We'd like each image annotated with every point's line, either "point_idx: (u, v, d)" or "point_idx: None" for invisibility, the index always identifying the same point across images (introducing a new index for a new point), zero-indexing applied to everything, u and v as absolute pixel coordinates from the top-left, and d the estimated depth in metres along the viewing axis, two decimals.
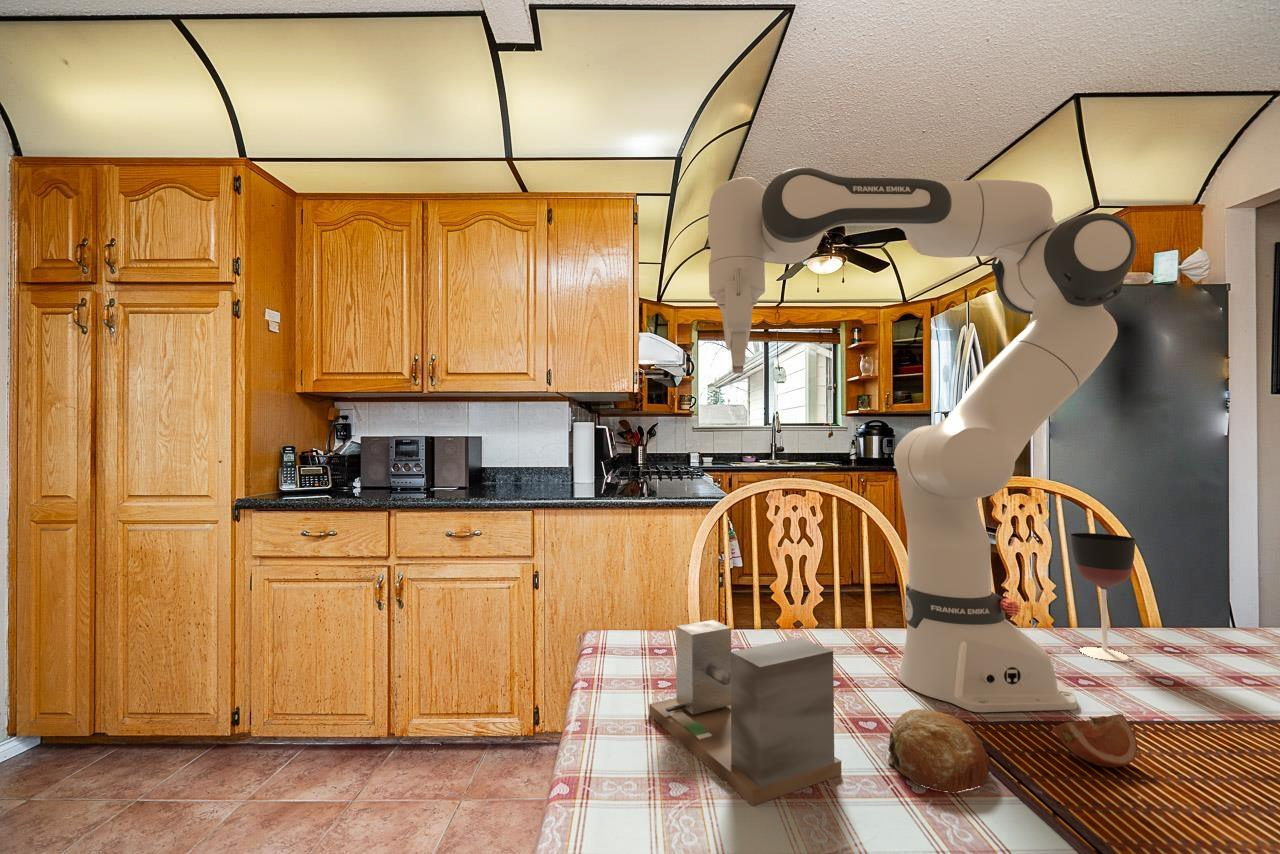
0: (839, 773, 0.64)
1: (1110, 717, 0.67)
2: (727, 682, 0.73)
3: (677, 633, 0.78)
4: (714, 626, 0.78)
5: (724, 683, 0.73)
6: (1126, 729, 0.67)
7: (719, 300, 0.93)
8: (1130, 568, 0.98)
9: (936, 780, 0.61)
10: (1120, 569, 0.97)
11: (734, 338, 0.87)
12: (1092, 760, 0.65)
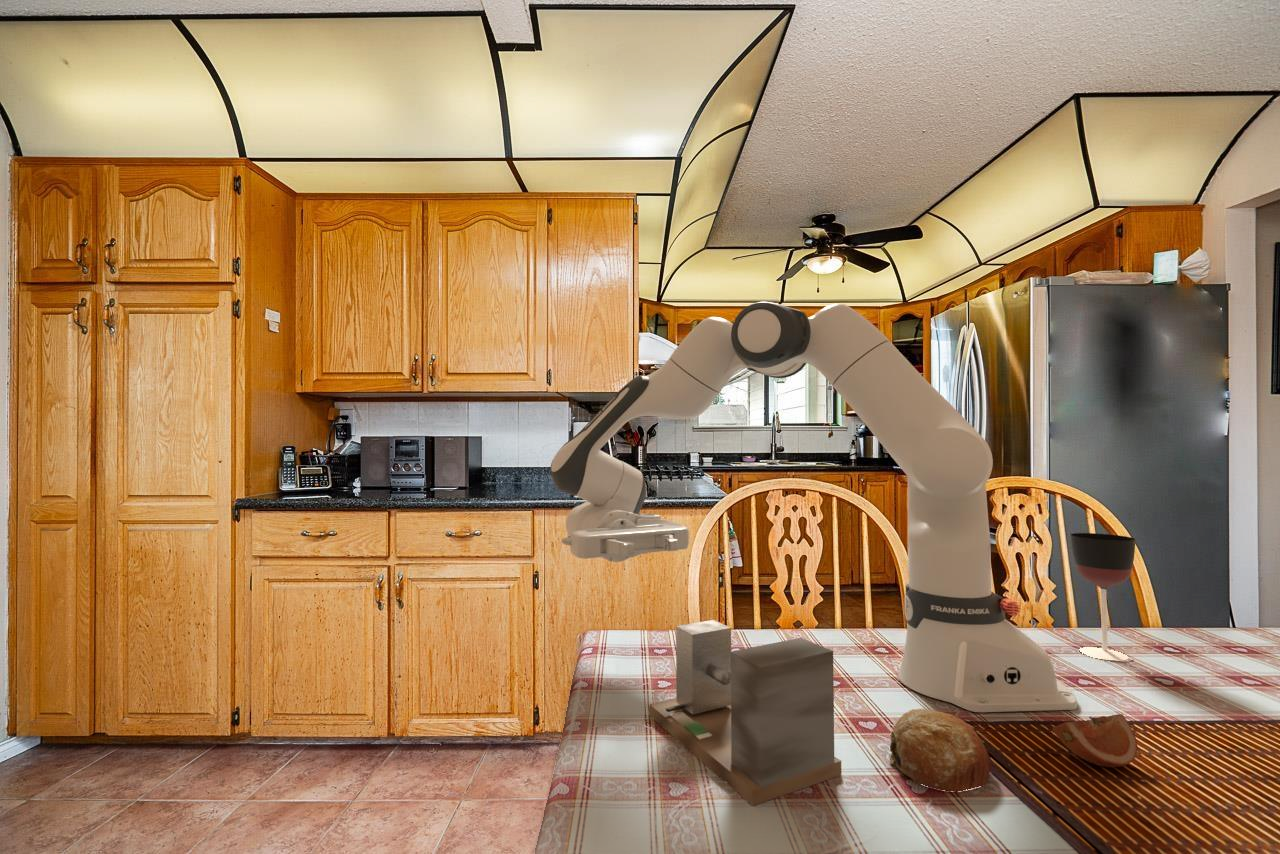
0: (839, 773, 0.64)
1: (1110, 717, 0.67)
2: (727, 682, 0.73)
3: (677, 633, 0.78)
4: (714, 626, 0.78)
5: (724, 683, 0.73)
6: (1126, 729, 0.67)
7: None
8: (1130, 568, 0.98)
9: (938, 780, 0.61)
10: (1120, 569, 0.97)
11: (608, 551, 0.91)
12: (1092, 760, 0.65)
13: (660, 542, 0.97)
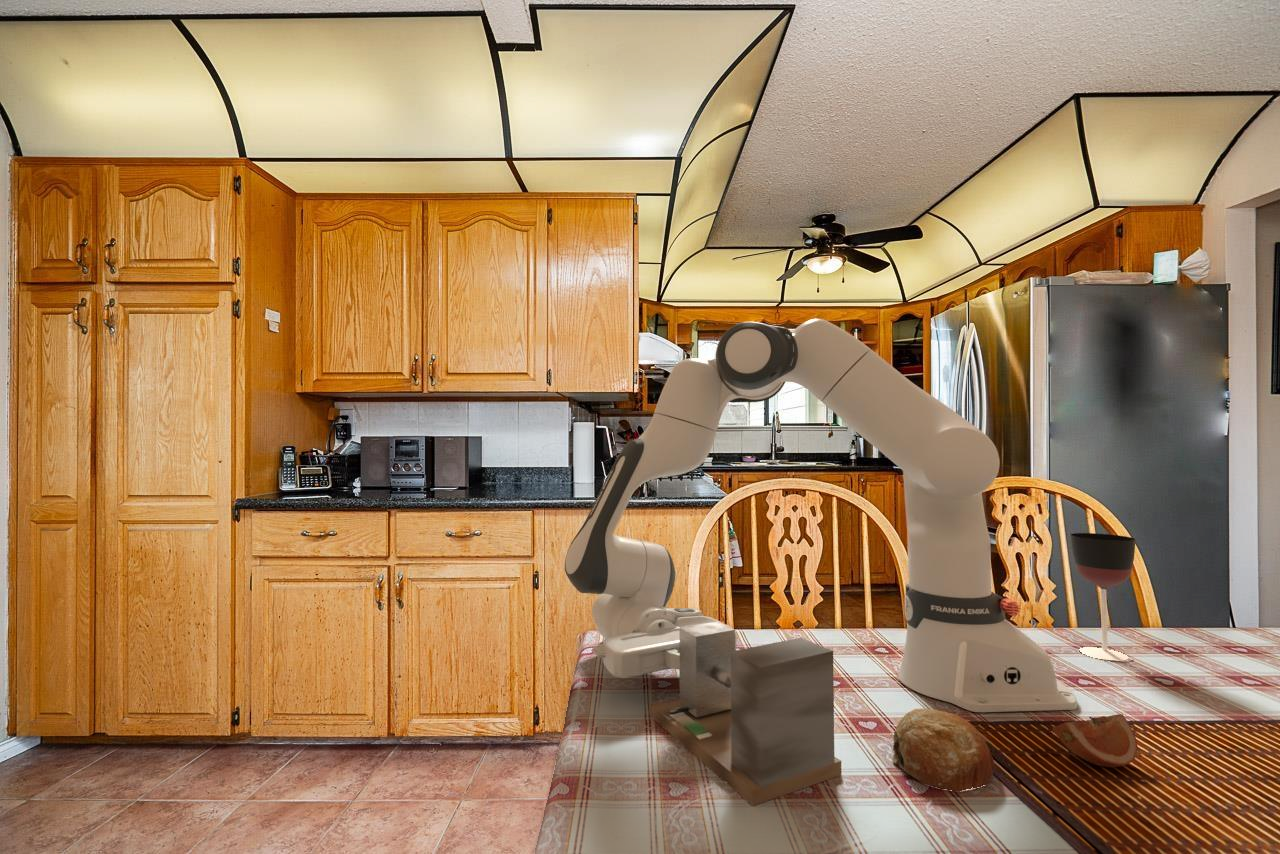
0: (839, 773, 0.64)
1: (1110, 717, 0.67)
2: None
3: (680, 635, 0.77)
4: (717, 628, 0.77)
5: (728, 686, 0.72)
6: (1126, 729, 0.67)
7: None
8: (1130, 568, 0.98)
9: (941, 779, 0.61)
10: (1120, 569, 0.97)
11: (669, 664, 0.81)
12: (1092, 760, 0.65)
13: None
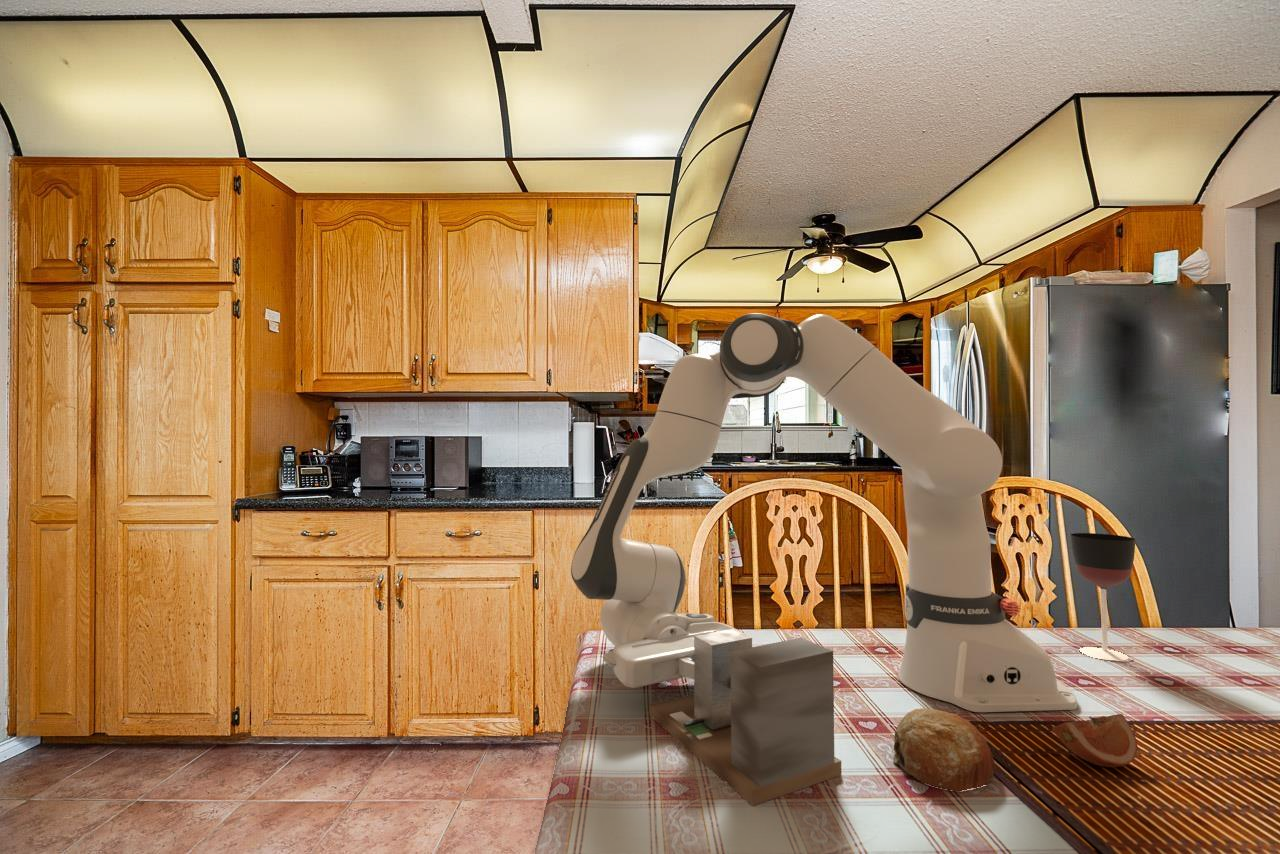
0: (839, 773, 0.64)
1: (1110, 717, 0.67)
2: None
3: (695, 643, 0.74)
4: (734, 636, 0.74)
5: None
6: (1126, 729, 0.67)
7: None
8: (1130, 568, 0.98)
9: (942, 779, 0.61)
10: (1120, 569, 0.97)
11: (682, 673, 0.78)
12: (1092, 760, 0.65)
13: None
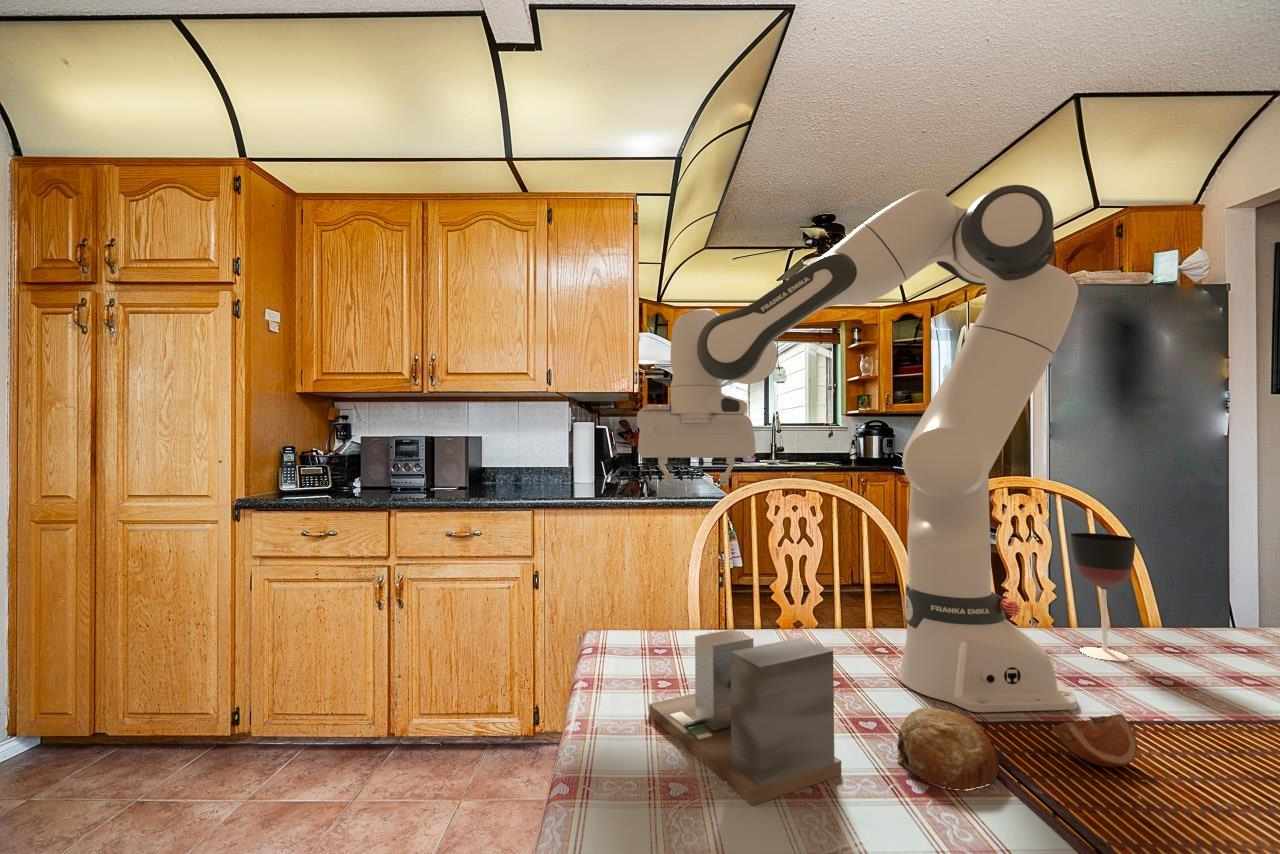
0: (839, 773, 0.64)
1: (1110, 717, 0.67)
2: None
3: (696, 644, 0.74)
4: (735, 636, 0.74)
5: None
6: (1126, 729, 0.67)
7: None
8: (1130, 568, 0.98)
9: (946, 778, 0.61)
10: (1120, 569, 0.97)
11: None
12: (1092, 760, 0.65)
13: None
